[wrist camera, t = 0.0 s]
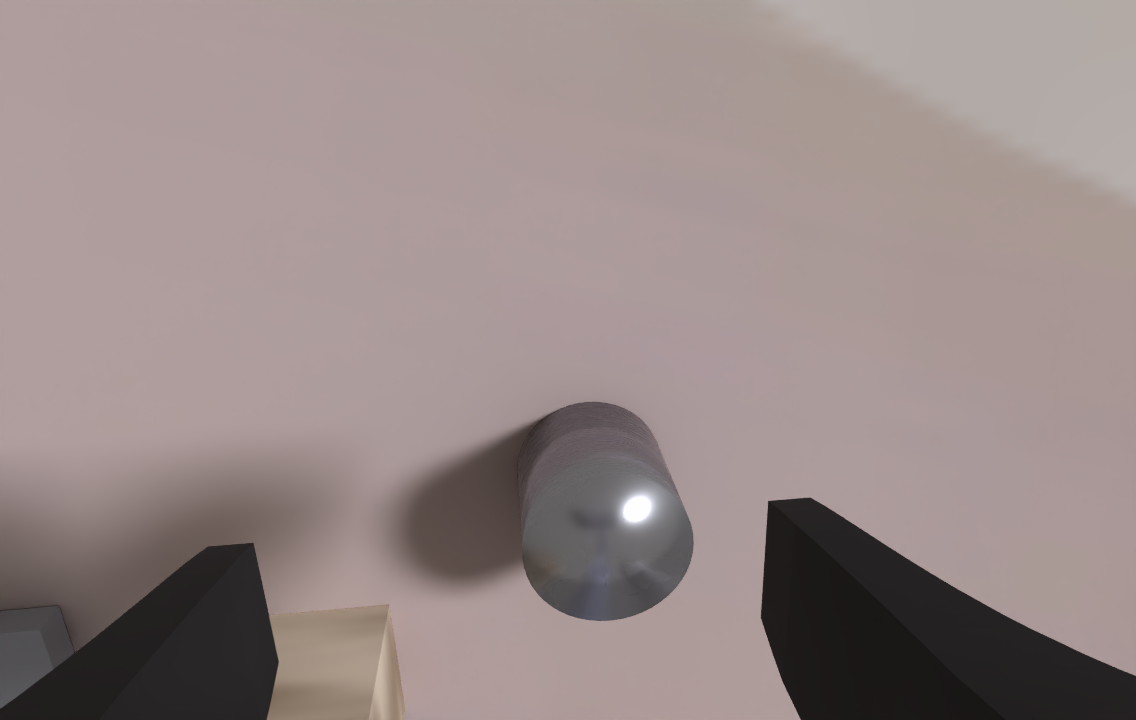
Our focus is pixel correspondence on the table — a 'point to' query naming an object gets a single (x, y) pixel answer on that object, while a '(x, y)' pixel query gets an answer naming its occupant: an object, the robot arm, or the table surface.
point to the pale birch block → (336, 666)
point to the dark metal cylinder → (600, 514)
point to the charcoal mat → (30, 648)
